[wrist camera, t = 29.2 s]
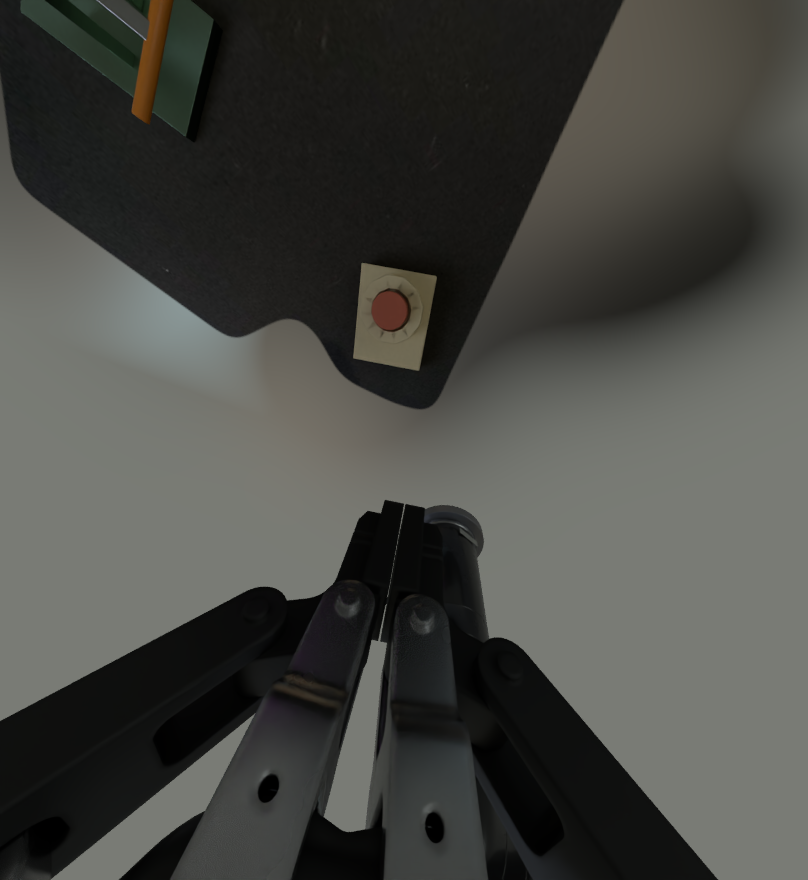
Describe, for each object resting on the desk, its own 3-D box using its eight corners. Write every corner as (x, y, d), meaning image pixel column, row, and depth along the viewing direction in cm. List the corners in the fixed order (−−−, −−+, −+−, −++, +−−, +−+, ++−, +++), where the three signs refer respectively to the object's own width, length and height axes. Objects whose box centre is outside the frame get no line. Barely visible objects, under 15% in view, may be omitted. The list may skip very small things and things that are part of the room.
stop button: (405, 331, 32) (403, 332, 31) (372, 325, 32) (369, 326, 31) (411, 295, 31) (409, 294, 29) (377, 288, 31) (373, 288, 29)
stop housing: (420, 367, 37) (417, 374, 34) (357, 355, 38) (349, 361, 34) (436, 277, 33) (436, 274, 29) (366, 265, 33) (357, 260, 30)
